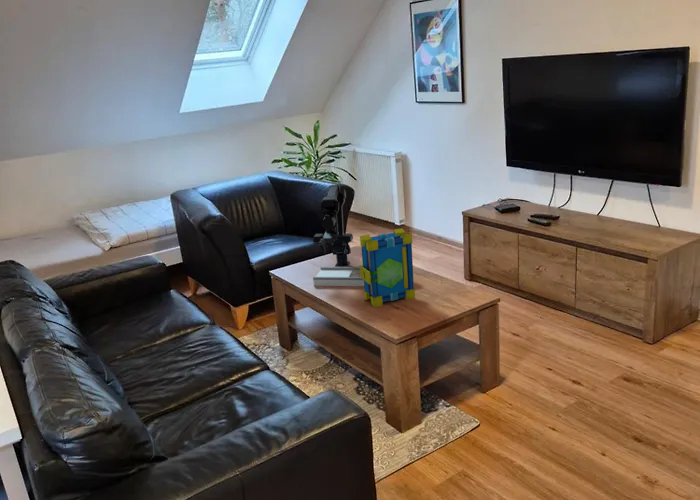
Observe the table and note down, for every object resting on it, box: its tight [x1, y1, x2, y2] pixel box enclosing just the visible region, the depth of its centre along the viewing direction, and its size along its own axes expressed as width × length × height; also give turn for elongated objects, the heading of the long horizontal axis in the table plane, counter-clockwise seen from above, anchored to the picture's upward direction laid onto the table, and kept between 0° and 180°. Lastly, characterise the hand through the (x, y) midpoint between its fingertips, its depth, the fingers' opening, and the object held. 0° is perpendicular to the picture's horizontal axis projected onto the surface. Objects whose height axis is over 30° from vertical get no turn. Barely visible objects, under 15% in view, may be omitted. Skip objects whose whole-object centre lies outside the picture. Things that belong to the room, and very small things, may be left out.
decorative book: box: [358, 227, 416, 308], centre depth 278 cm, size 14×23×30 cm, turn 111°
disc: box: [351, 270, 360, 277], centre depth 307 cm, size 11×11×4 cm
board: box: [312, 266, 364, 287], centre depth 308 cm, size 15×31×5 cm, turn 77°
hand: (334, 254), depth 307 cm, fingers open, 9 cm apart
